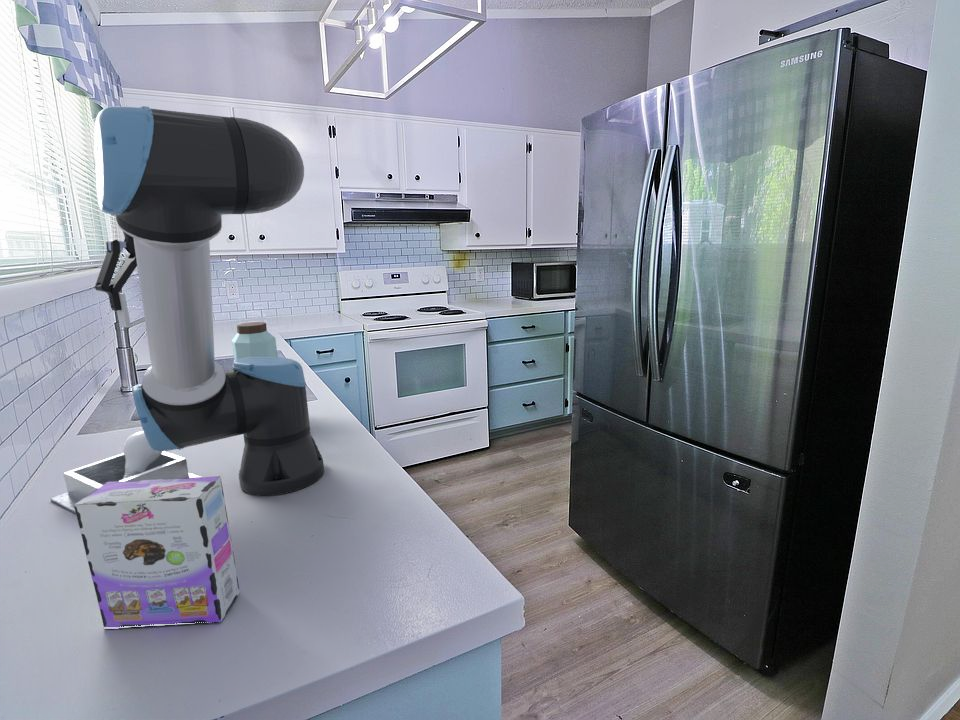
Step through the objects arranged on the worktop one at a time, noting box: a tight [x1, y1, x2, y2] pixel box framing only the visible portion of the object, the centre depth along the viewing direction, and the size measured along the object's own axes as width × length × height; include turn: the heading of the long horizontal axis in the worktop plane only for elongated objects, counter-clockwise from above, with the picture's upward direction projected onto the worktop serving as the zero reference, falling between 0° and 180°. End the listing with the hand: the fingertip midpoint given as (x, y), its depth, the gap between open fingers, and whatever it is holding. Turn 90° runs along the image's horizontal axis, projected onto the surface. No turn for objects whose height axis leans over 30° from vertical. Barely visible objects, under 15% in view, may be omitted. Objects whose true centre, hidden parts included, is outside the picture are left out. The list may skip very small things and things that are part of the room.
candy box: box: [74, 475, 241, 628], centre depth 61 cm, size 14×6×16 cm, turn 92°
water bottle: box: [231, 321, 279, 362], centre depth 127 cm, size 10×10×25 cm
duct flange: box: [50, 451, 201, 515], centre depth 94 cm, size 18×18×5 cm
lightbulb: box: [122, 430, 162, 480], centre depth 95 cm, size 6×6×11 cm
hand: (161, 321), depth 105 cm, fingers open, 13 cm apart
